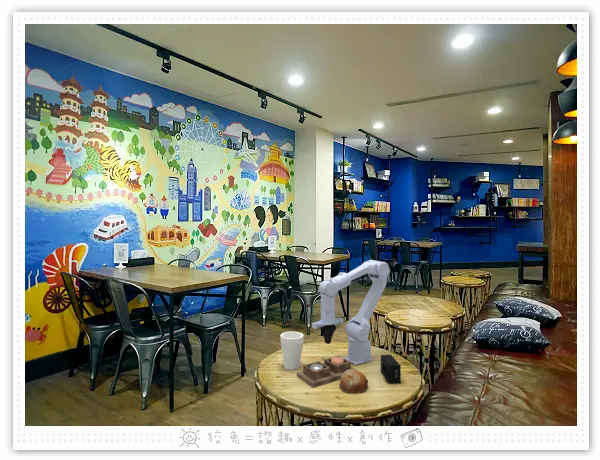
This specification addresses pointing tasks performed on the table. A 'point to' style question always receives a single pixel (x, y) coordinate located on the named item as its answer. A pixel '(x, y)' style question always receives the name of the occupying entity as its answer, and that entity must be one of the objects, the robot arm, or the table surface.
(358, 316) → the robot arm
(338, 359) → the tan rounded piece
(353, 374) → the bread roll
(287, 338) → the foam cup
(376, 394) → the table surface
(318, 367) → the grey plunger
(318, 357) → the table surface
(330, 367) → the brown wooden tray
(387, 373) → the digital camera
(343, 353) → the table surface
